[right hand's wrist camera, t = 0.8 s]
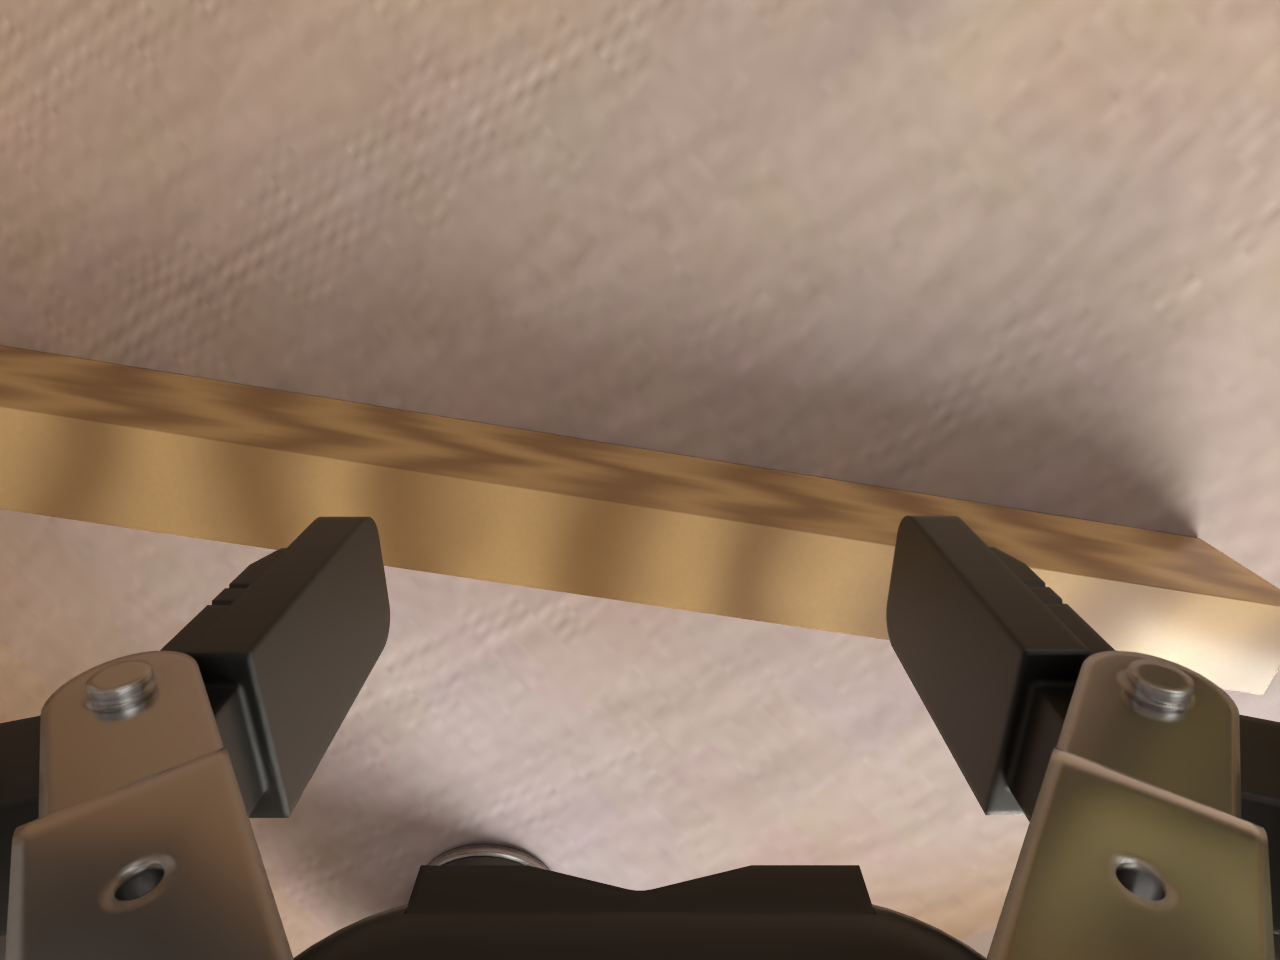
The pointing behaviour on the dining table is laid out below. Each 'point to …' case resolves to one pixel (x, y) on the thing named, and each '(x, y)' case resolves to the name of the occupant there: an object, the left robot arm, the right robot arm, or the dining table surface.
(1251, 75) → the dining table surface
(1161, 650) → the bar
